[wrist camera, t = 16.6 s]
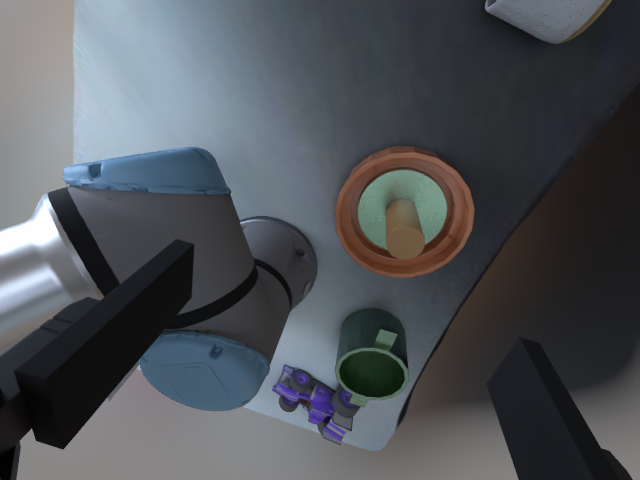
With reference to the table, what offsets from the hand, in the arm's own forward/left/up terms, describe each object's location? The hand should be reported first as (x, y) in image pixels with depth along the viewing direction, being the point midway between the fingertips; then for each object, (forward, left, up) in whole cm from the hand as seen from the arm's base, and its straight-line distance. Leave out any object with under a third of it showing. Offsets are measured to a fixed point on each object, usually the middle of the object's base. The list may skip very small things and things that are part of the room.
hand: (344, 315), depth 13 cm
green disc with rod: (+6, -6, -30) cm, 32 cm away
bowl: (+6, -6, -32) cm, 33 cm away
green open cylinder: (+9, -28, -32) cm, 43 cm away
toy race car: (+3, -45, -32) cm, 55 cm away
